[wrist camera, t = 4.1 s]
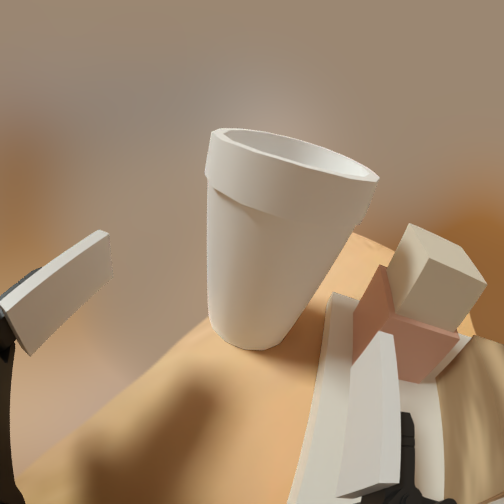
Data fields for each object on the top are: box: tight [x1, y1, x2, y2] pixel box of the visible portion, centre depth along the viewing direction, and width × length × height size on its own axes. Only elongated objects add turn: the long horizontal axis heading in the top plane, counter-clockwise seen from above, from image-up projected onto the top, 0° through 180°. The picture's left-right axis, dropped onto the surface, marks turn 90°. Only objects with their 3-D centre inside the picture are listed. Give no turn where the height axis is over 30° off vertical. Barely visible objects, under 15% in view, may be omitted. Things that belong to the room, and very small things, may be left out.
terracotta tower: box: [352, 223, 487, 384], centre depth 16 cm, size 6×6×9 cm
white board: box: [287, 292, 504, 504], centre depth 14 cm, size 24×20×2 cm
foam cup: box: [205, 128, 380, 350], centre depth 17 cm, size 10×9×13 cm
